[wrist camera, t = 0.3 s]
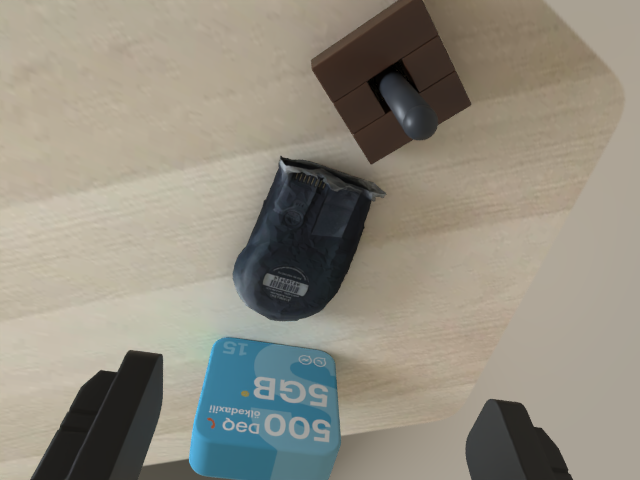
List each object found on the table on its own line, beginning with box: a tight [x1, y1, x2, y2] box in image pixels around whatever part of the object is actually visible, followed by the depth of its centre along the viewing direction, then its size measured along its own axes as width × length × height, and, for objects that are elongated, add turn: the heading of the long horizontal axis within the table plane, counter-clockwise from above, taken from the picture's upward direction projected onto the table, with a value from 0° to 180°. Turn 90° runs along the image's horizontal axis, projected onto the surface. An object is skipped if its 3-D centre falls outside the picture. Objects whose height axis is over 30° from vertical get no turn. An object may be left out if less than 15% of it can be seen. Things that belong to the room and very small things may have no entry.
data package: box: [189, 337, 341, 480], centre depth 43 cm, size 12×4×12 cm, turn 78°
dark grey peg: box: [375, 67, 438, 140], centre depth 30 cm, size 2×2×13 cm
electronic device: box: [233, 156, 386, 321], centre depth 40 cm, size 9×6×15 cm
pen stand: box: [311, 0, 471, 164], centre depth 34 cm, size 8×8×4 cm
